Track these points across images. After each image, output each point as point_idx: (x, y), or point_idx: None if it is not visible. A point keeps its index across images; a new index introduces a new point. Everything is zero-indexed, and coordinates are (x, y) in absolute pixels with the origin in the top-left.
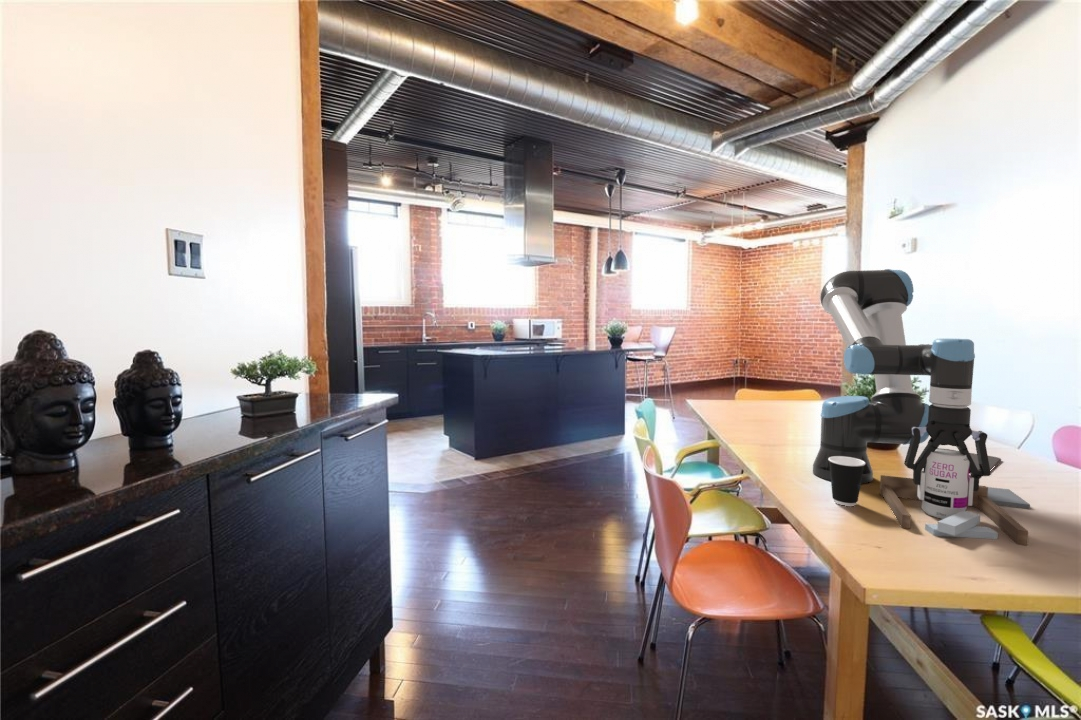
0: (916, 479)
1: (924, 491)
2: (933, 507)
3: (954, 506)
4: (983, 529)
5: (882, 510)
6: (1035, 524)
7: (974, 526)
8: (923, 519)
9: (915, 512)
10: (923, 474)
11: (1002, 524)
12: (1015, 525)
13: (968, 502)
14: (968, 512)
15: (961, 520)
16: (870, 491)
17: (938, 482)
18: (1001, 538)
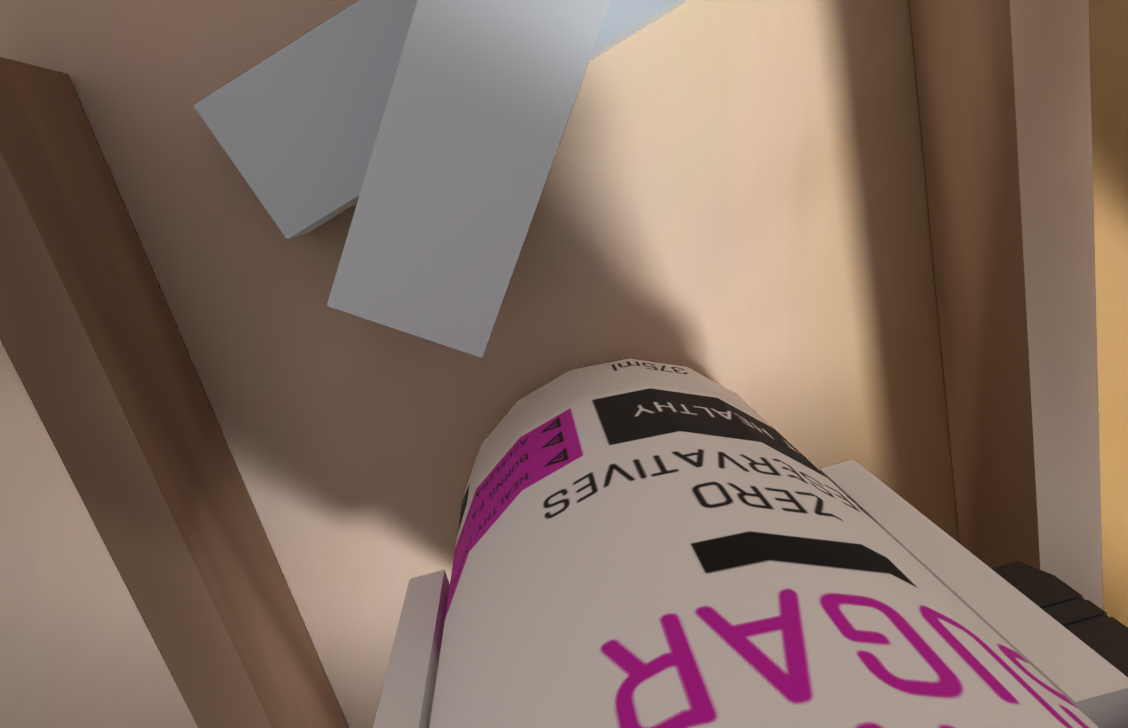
0: (1070, 610)
1: (873, 517)
2: (725, 399)
3: (559, 423)
4: (311, 121)
5: None
6: (24, 713)
7: None
8: (767, 261)
9: (815, 415)
10: (1083, 670)
11: (187, 424)
12: (1, 203)
13: (438, 590)
14: (432, 313)
15: None
16: None
17: (832, 533)
18: (195, 157)
